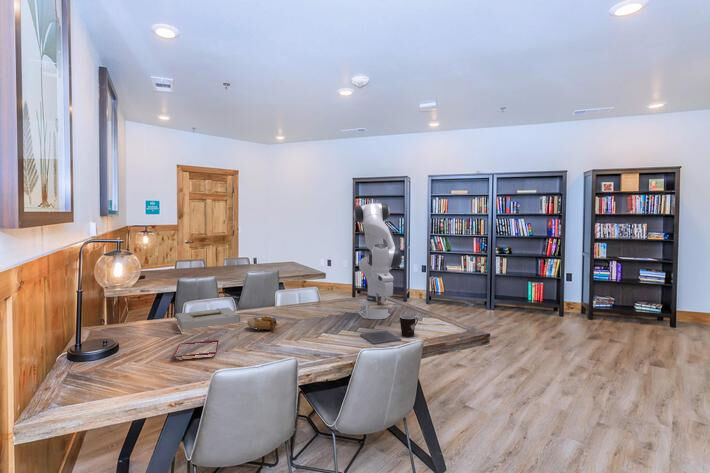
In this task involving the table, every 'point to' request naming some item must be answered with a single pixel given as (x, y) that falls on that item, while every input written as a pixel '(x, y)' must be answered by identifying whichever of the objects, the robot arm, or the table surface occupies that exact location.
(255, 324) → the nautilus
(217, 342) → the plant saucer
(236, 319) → the box
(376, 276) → the robot arm
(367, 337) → the mat
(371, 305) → the lid
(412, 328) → the coffee mug
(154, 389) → the table surface
